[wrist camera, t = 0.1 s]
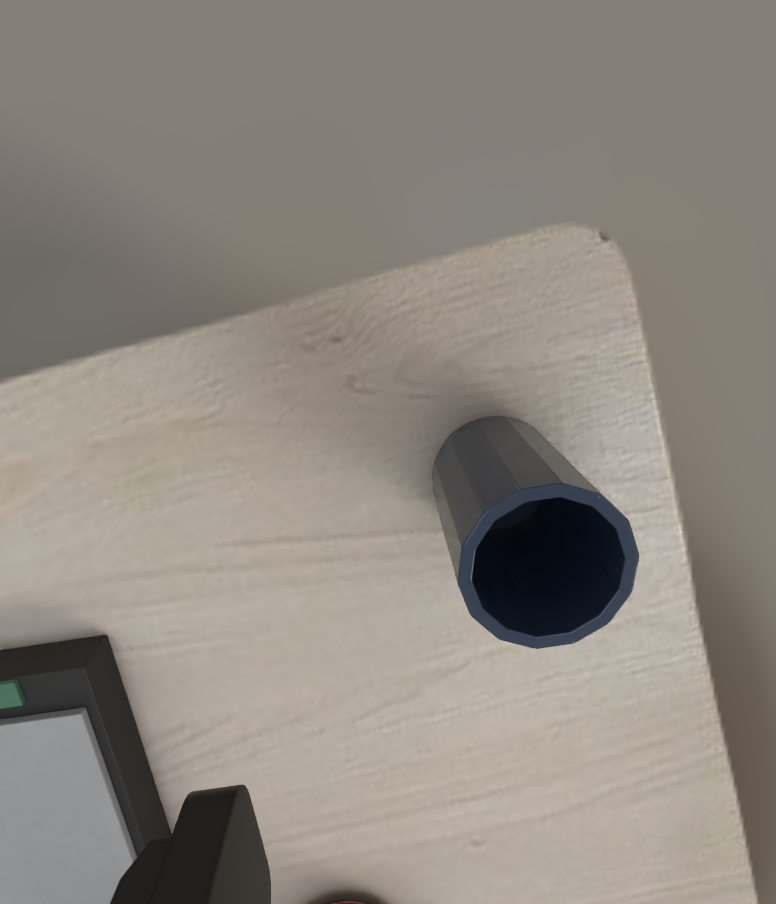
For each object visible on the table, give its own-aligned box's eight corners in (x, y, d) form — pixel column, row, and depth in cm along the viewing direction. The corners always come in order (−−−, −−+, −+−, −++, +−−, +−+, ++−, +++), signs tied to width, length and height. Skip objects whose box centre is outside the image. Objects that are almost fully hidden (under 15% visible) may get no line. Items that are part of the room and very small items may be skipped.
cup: (423, 426, 27) (446, 500, 18) (551, 406, 27) (636, 471, 18) (439, 541, 28) (467, 659, 20) (560, 523, 28) (642, 634, 20)
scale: (-138, 670, 30) (-193, 713, 27) (107, 634, 29) (78, 673, 27) (-38, 889, 34) (-76, 947, 31) (179, 858, 33) (161, 914, 30)
